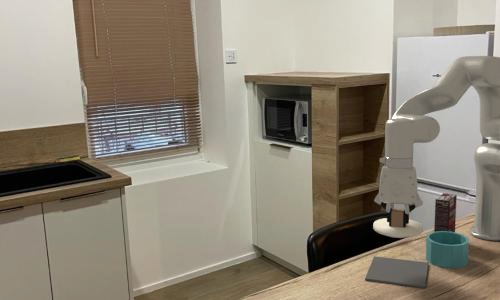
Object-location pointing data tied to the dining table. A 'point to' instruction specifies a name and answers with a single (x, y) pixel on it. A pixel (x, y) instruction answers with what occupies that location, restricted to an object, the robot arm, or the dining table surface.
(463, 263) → the bowl
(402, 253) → the dining table surface
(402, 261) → the mat
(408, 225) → the lid
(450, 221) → the supplement box
